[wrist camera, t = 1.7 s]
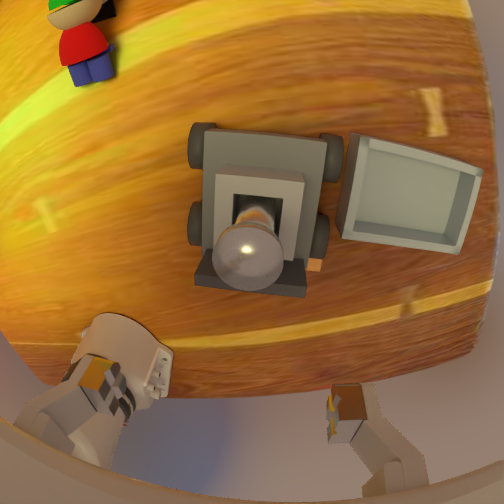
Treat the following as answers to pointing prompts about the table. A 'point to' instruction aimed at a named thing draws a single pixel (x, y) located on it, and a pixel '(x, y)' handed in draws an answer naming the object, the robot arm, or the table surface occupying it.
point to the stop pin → (250, 247)
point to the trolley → (263, 184)
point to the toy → (83, 38)
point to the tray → (405, 195)
